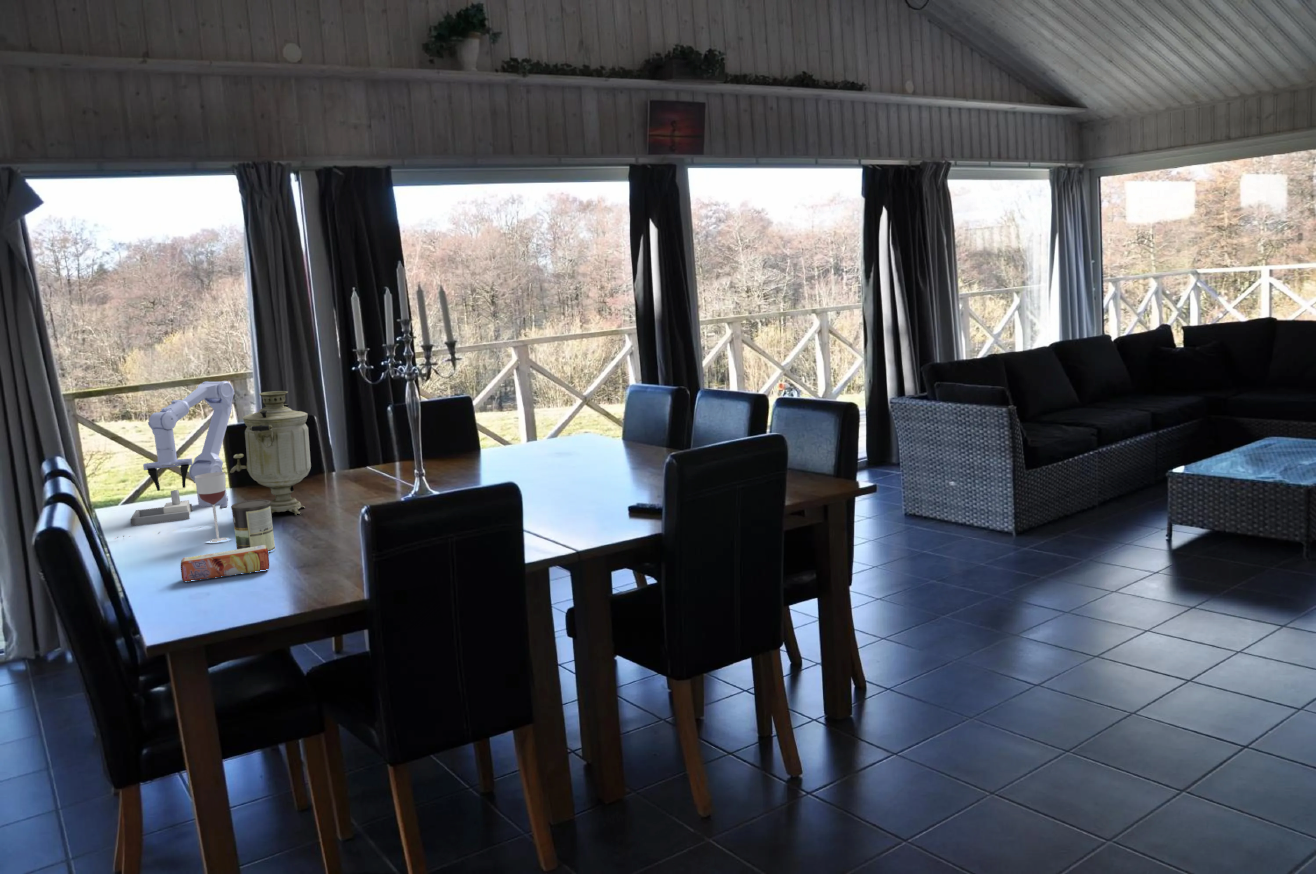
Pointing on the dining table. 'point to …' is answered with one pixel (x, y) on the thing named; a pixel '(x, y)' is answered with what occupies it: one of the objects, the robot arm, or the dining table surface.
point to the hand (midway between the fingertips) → (171, 488)
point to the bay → (157, 516)
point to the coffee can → (253, 524)
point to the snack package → (225, 563)
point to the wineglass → (212, 492)
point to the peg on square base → (176, 504)
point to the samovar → (277, 449)
